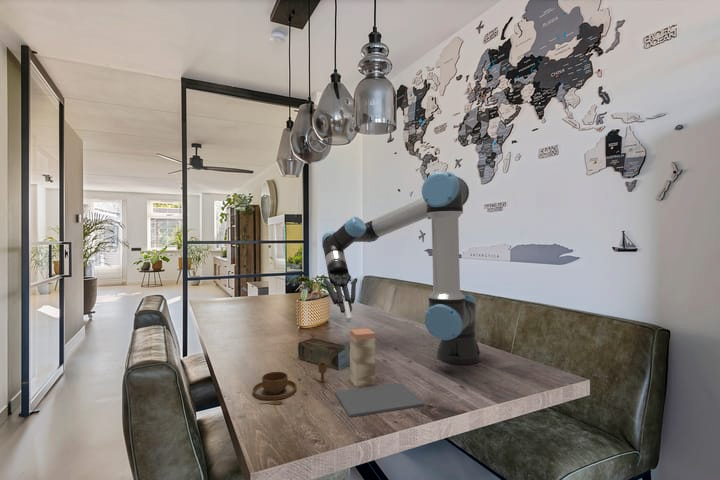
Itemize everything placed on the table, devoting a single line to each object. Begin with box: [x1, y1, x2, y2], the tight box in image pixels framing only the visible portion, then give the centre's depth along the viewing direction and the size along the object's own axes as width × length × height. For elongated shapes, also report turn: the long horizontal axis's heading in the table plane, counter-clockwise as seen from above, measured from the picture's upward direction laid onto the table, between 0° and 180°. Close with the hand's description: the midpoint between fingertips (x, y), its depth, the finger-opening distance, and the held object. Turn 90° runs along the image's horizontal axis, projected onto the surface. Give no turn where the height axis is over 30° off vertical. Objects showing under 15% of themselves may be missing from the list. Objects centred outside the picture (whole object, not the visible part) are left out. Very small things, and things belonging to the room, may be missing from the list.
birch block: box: [349, 328, 376, 387], centre depth 109 cm, size 6×6×15 cm
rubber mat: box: [334, 382, 425, 418], centre depth 97 cm, size 20×14×1 cm
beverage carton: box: [297, 337, 350, 371], centre depth 127 cm, size 8×19×7 cm, turn 54°
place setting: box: [252, 363, 328, 406], centre depth 102 cm, size 18×20×6 cm
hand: (348, 320), depth 121 cm, fingers closed
